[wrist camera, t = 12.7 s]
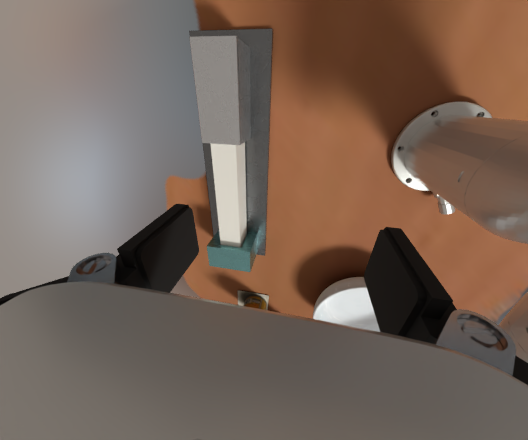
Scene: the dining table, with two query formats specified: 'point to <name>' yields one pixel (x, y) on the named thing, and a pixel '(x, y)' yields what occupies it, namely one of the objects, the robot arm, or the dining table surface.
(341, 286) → the serving bowl
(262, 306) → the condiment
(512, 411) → the robot arm
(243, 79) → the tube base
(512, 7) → the dining table surface
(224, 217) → the white rectangular stick
